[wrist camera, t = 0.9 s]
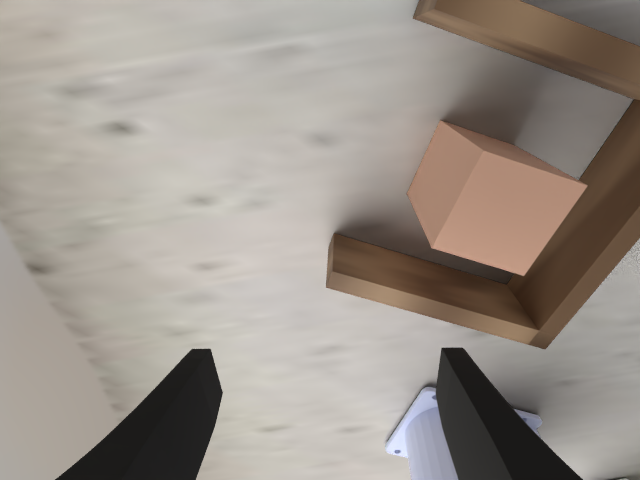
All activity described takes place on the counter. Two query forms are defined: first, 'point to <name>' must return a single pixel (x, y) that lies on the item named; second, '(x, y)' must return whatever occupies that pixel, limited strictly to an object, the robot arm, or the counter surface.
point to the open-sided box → (575, 230)
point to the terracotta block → (489, 199)
